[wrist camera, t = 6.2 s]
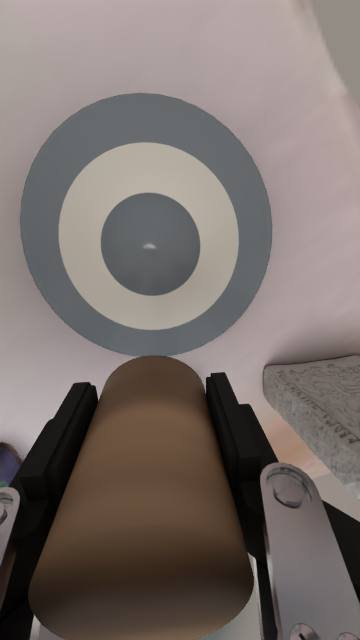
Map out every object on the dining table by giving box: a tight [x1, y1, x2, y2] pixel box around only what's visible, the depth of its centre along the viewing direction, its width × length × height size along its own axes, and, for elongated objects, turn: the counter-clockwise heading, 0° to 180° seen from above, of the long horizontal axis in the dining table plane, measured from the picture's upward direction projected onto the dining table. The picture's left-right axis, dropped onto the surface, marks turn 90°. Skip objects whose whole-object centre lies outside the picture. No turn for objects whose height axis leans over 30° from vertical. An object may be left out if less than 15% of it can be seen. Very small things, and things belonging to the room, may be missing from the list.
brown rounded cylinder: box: [28, 355, 254, 640], centre depth 8 cm, size 4×4×6 cm
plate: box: [20, 93, 272, 357], centre depth 20 cm, size 20×20×1 cm
